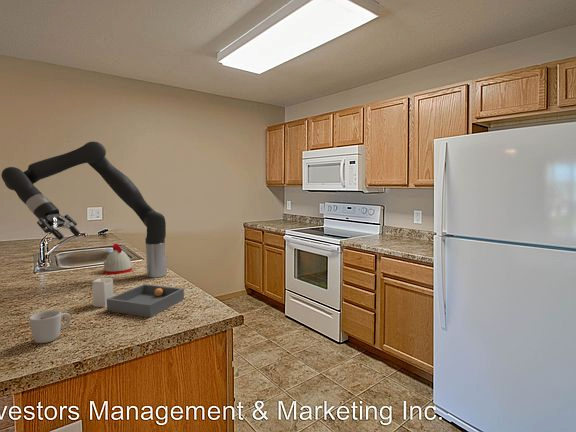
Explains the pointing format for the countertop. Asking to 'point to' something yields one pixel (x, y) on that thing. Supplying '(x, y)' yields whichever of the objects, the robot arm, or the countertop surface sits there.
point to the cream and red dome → (117, 262)
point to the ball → (158, 292)
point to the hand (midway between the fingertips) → (70, 236)
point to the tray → (145, 300)
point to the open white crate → (102, 291)
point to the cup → (47, 325)
